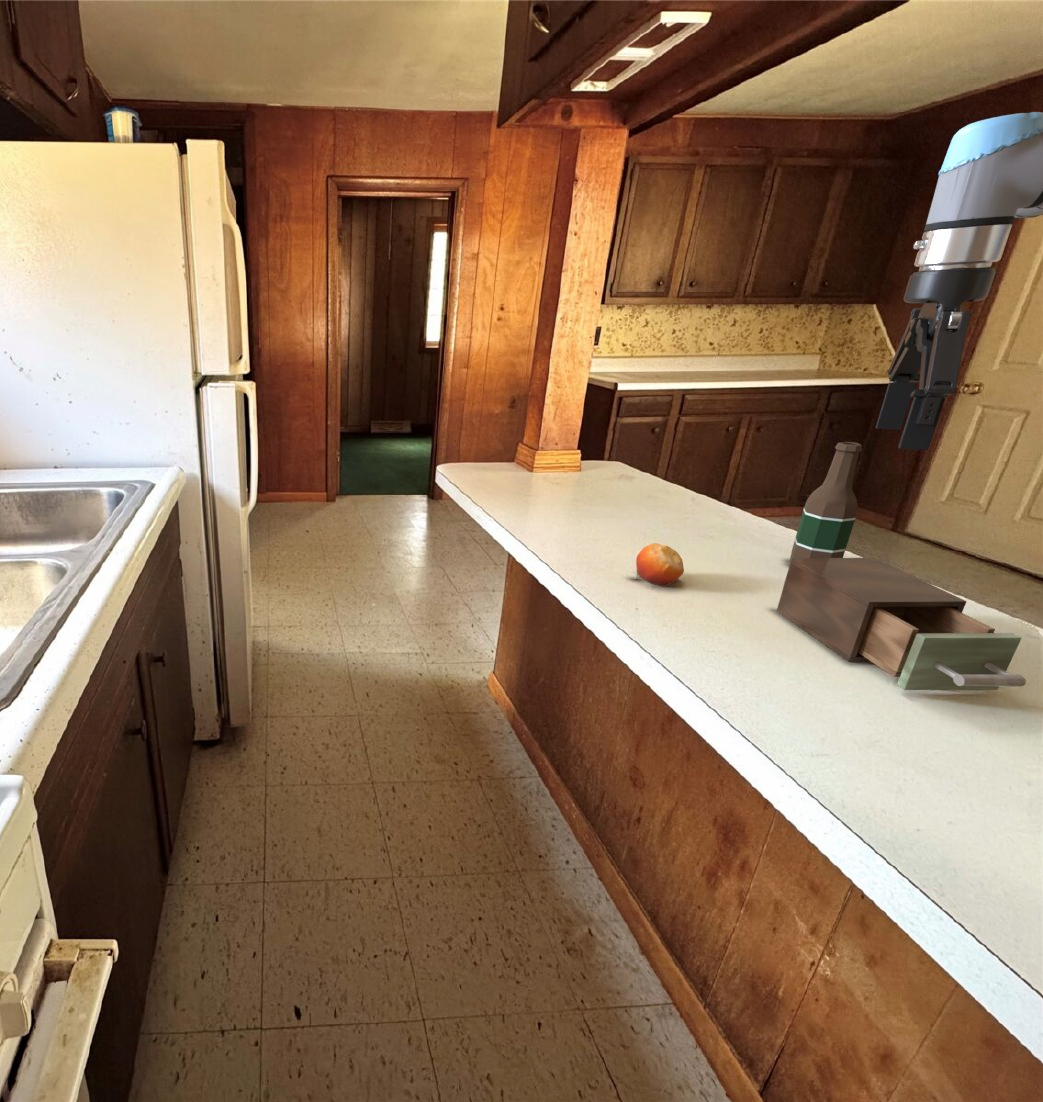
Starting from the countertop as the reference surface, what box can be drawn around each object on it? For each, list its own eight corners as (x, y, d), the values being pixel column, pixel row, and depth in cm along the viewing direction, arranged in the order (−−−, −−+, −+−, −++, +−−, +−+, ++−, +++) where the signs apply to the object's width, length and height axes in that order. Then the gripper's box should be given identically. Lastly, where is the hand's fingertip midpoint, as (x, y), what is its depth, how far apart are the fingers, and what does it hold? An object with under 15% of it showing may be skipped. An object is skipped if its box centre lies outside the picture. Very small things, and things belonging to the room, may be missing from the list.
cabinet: (941, 661, 86) (967, 601, 82) (848, 661, 87) (869, 602, 83) (855, 610, 100) (873, 557, 97) (776, 611, 101) (791, 558, 97)
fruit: (632, 559, 119) (661, 531, 114) (666, 588, 116) (698, 560, 111) (616, 572, 114) (646, 543, 109) (651, 602, 111) (684, 574, 106)
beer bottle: (802, 574, 114) (839, 448, 105) (779, 558, 121) (812, 438, 112) (848, 575, 112) (890, 448, 104) (823, 559, 120) (860, 438, 111)
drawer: (1032, 710, 74) (1059, 655, 71) (933, 710, 75) (956, 655, 72) (901, 634, 91) (919, 587, 88) (822, 634, 92) (837, 588, 89)
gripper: (889, 271, 86) (847, 420, 94) (942, 268, 67) (884, 456, 75) (962, 267, 83) (912, 423, 91) (1041, 262, 63) (968, 461, 71)
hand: (899, 438), depth 83 cm, fingers open, 13 cm apart
